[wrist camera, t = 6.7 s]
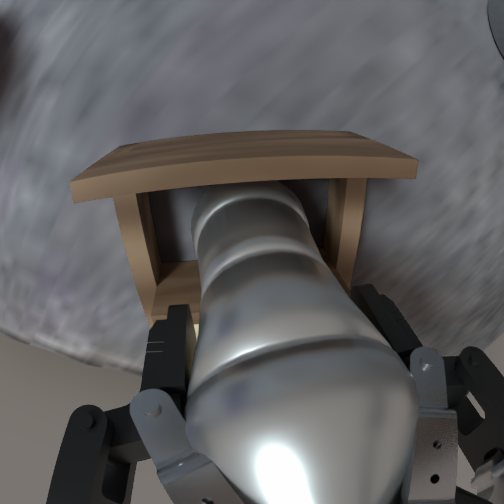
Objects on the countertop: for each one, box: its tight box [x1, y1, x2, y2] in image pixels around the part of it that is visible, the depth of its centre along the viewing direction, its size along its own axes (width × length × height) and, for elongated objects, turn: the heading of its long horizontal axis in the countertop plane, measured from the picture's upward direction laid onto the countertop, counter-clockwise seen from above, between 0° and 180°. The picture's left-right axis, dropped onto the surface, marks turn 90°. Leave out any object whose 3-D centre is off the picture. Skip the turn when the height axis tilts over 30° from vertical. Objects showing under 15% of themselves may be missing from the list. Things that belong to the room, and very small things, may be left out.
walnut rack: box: [69, 130, 419, 329], centre depth 20 cm, size 20×16×8 cm
